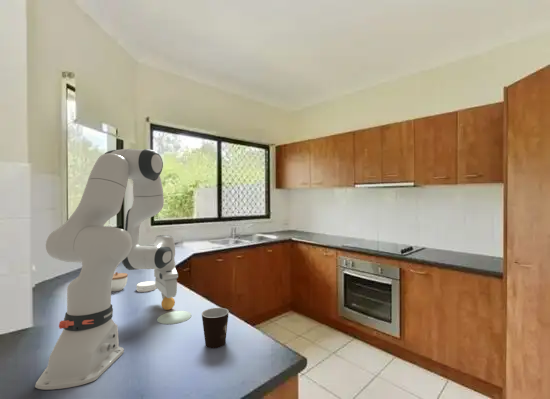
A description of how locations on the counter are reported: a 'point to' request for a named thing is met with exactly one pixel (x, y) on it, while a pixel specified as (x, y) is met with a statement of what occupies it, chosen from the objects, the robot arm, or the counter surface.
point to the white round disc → (146, 286)
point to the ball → (168, 303)
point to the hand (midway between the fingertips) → (165, 302)
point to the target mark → (174, 317)
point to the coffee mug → (215, 326)
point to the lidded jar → (119, 281)
